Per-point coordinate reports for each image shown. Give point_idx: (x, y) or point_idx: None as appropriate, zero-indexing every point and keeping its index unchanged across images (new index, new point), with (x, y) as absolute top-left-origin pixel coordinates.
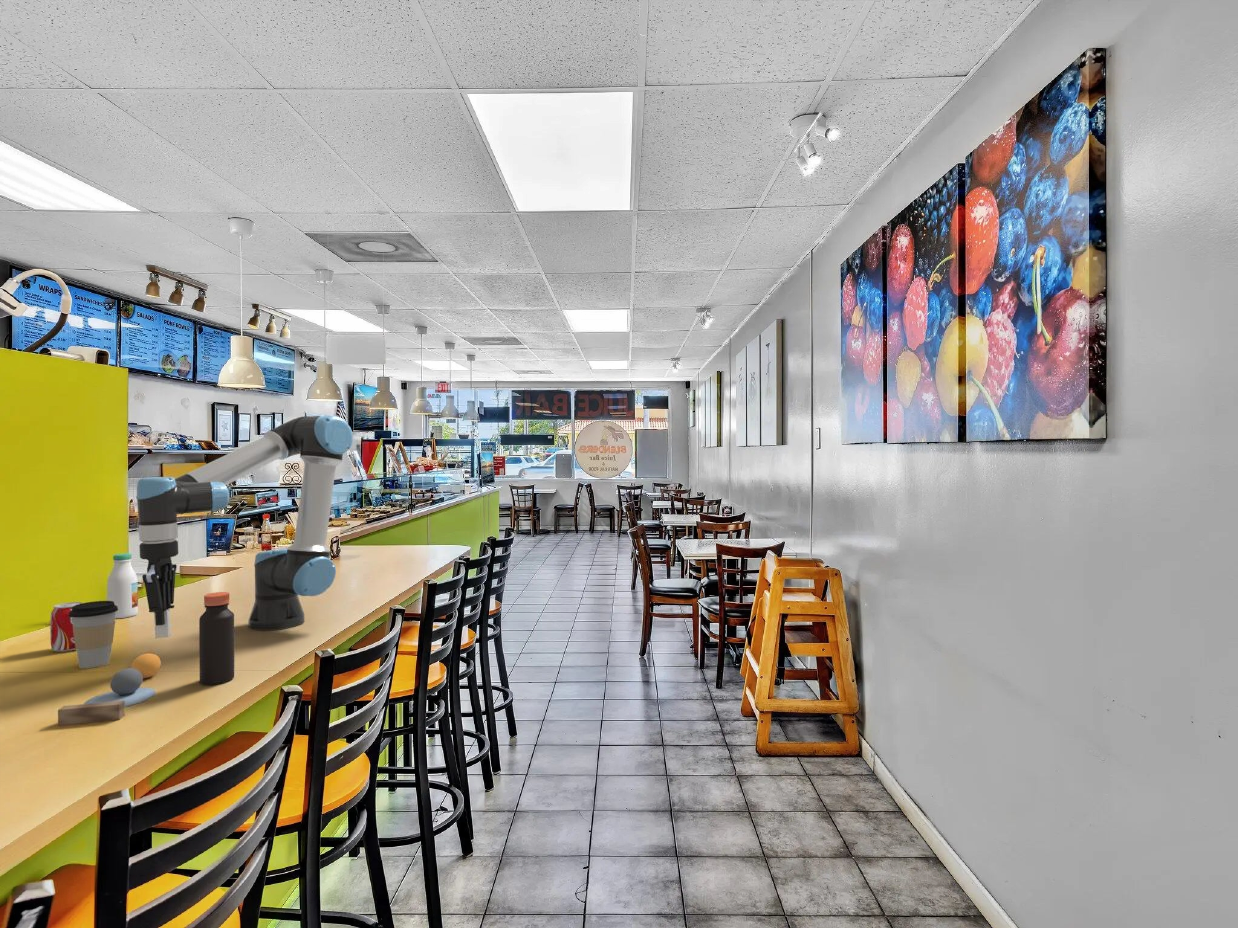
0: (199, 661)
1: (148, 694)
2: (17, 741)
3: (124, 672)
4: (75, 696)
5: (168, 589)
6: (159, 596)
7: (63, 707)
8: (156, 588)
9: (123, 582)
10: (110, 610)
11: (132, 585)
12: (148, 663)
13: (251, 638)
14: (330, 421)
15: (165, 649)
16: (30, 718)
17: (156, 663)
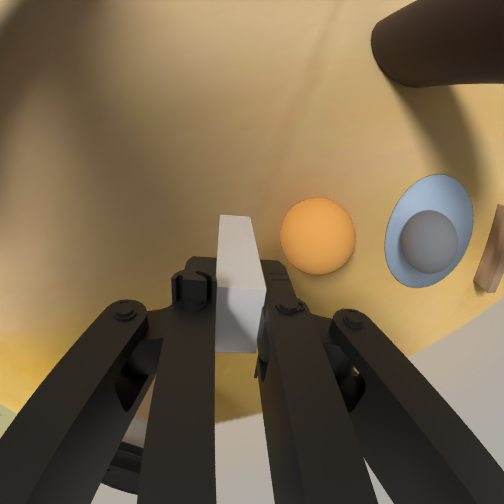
0: (450, 84)
1: (442, 185)
2: (493, 299)
3: (455, 252)
4: (373, 317)
5: (199, 447)
6: (434, 397)
7: (491, 290)
8: (483, 457)
9: None
10: (136, 453)
11: None
12: (353, 227)
13: (19, 62)
14: None
15: (57, 253)
16: (436, 328)
17: (340, 207)
